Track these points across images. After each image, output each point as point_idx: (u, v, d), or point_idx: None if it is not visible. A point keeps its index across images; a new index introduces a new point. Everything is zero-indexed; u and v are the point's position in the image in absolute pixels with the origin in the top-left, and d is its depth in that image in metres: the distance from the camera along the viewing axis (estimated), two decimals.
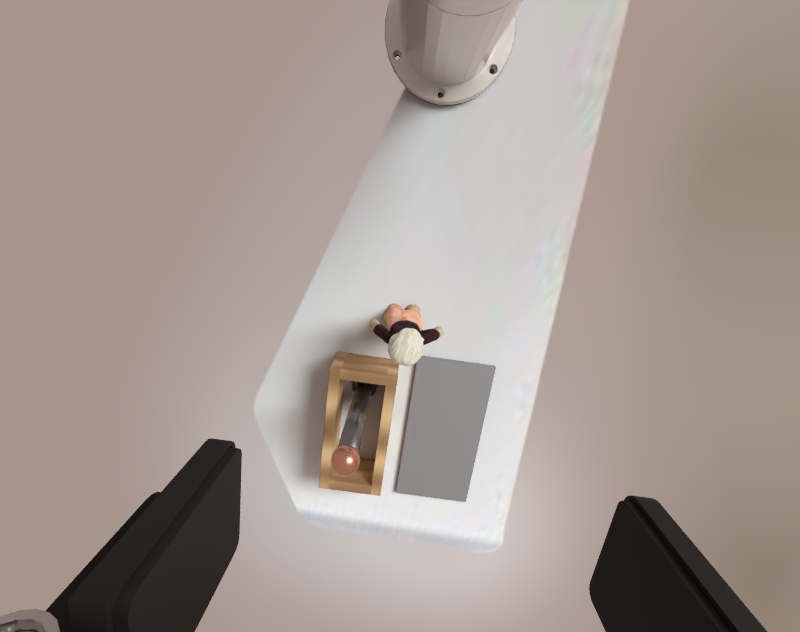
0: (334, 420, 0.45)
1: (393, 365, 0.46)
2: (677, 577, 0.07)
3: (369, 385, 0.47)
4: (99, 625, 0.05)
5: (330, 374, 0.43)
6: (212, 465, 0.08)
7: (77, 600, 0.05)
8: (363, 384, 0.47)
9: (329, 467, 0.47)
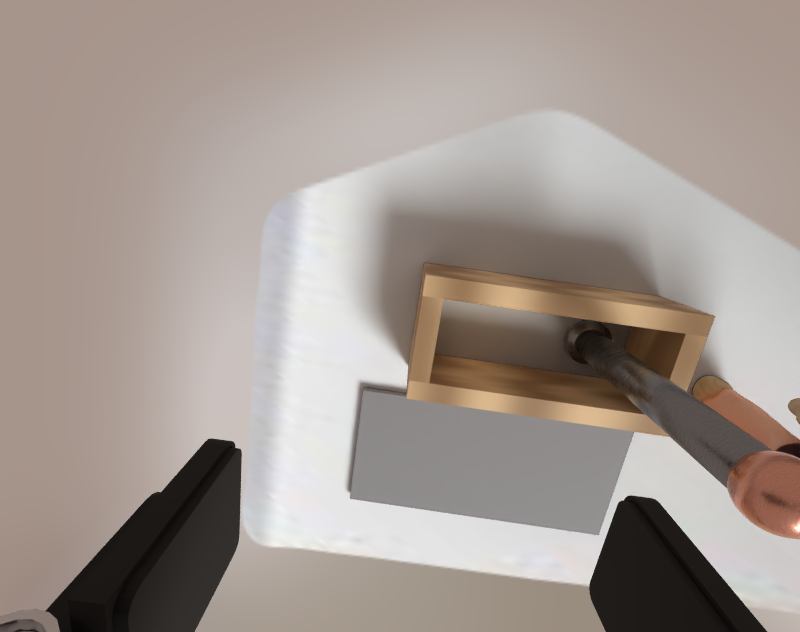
0: (591, 318, 0.22)
1: None
2: (677, 577, 0.07)
3: None
4: (99, 625, 0.05)
5: (700, 316, 0.21)
6: (212, 465, 0.08)
7: (77, 600, 0.05)
8: None
9: (477, 301, 0.22)
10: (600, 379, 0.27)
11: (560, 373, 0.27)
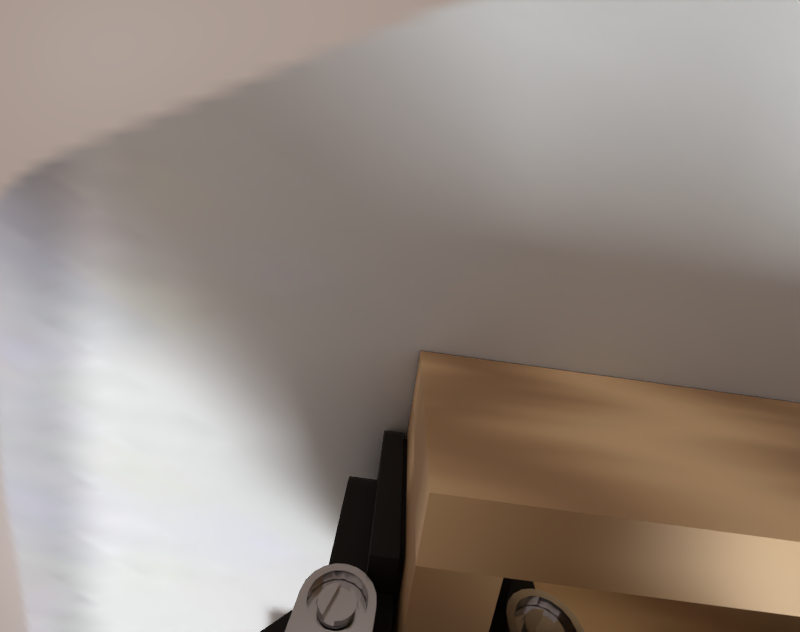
0: None
1: None
2: None
3: None
4: (388, 577, 0.07)
5: None
6: (401, 453, 0.09)
7: (375, 556, 0.06)
8: None
9: (640, 586, 0.05)
10: None
11: None
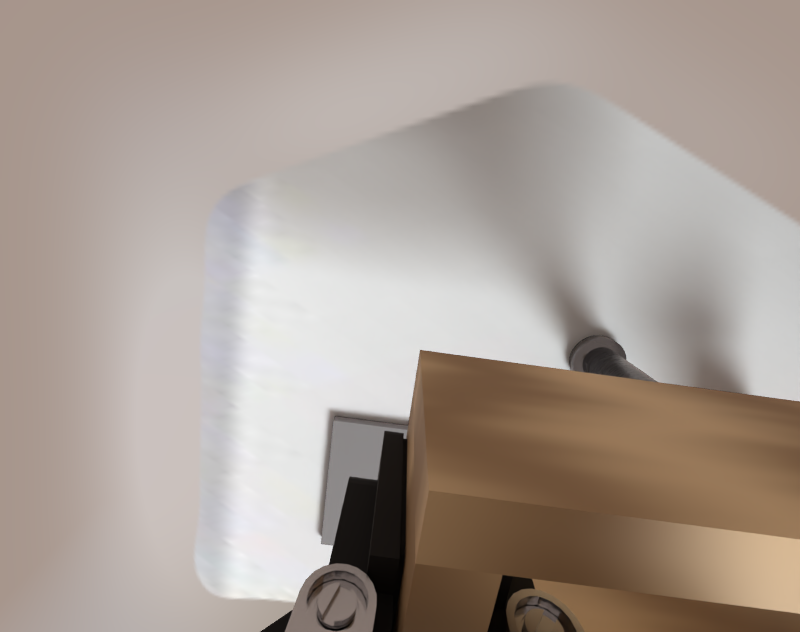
0: None
1: None
2: None
3: None
4: (388, 576, 0.07)
5: None
6: (401, 453, 0.09)
7: (375, 556, 0.06)
8: None
9: (638, 583, 0.05)
10: None
11: None
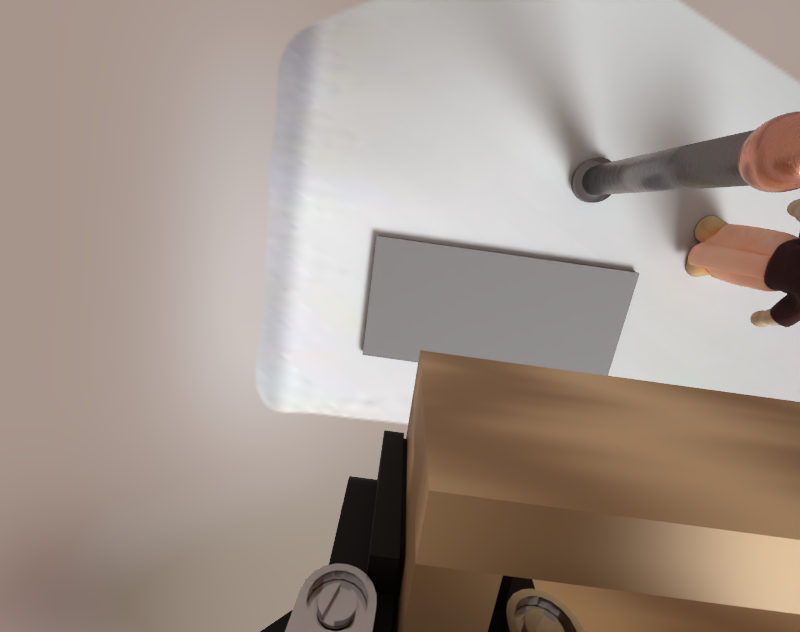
0: None
1: None
2: None
3: None
4: (388, 577, 0.07)
5: None
6: (401, 453, 0.09)
7: (375, 556, 0.06)
8: None
9: (639, 584, 0.05)
10: None
11: None
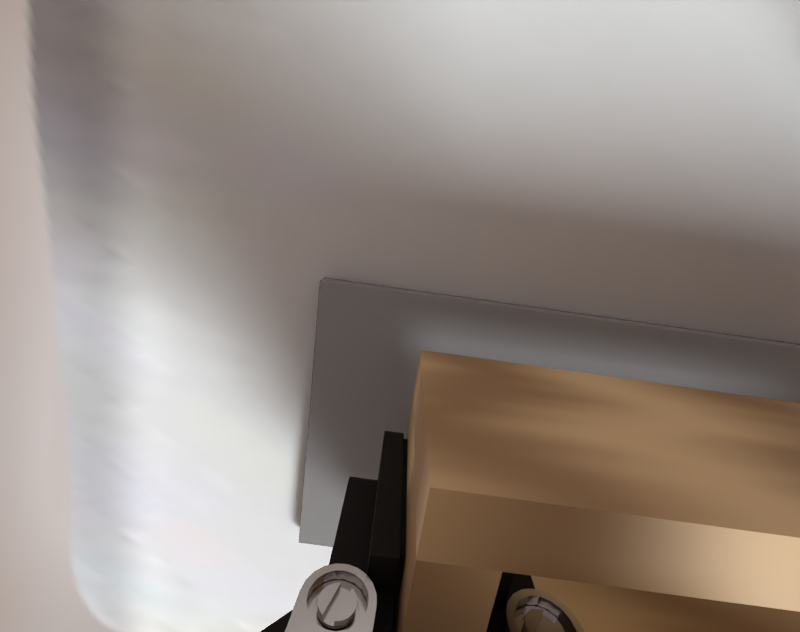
0: None
1: None
2: None
3: None
4: (388, 577, 0.07)
5: None
6: (401, 453, 0.09)
7: (375, 556, 0.06)
8: None
9: (637, 580, 0.05)
10: None
11: (750, 606, 0.11)
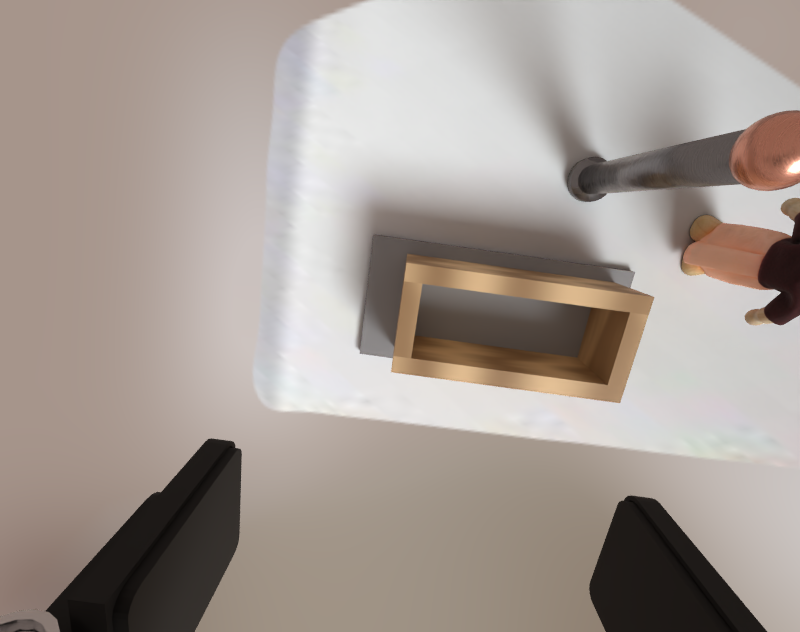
0: (549, 299, 0.25)
1: None
2: (677, 577, 0.07)
3: None
4: (99, 625, 0.05)
5: (641, 297, 0.25)
6: (212, 465, 0.08)
7: (77, 600, 0.05)
8: None
9: (451, 285, 0.25)
10: (564, 357, 0.31)
11: (529, 352, 0.31)
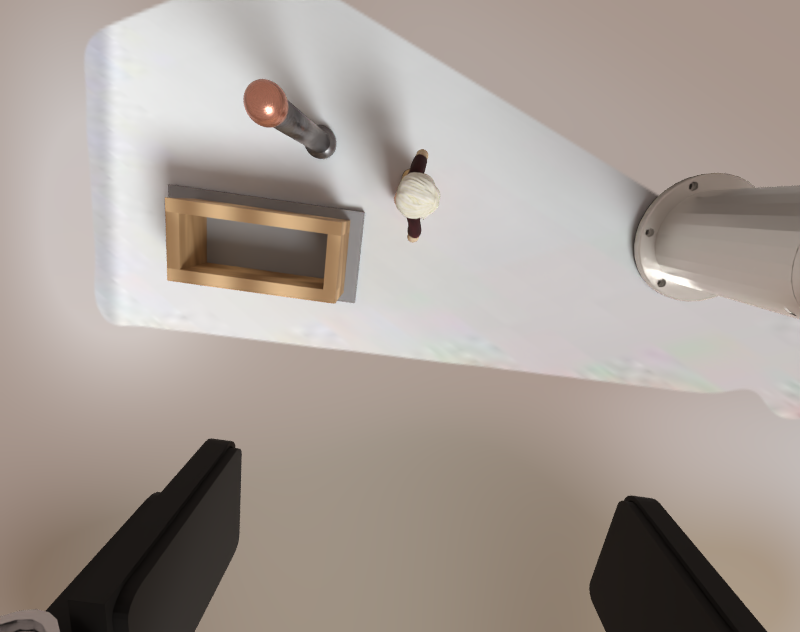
0: (269, 224, 0.35)
1: (340, 290, 0.40)
2: (677, 577, 0.07)
3: (325, 148, 0.37)
4: (99, 625, 0.05)
5: (333, 222, 0.35)
6: (212, 465, 0.08)
7: (77, 600, 0.05)
8: (327, 140, 0.36)
9: (199, 214, 0.35)
10: (321, 278, 0.41)
11: (295, 275, 0.41)
